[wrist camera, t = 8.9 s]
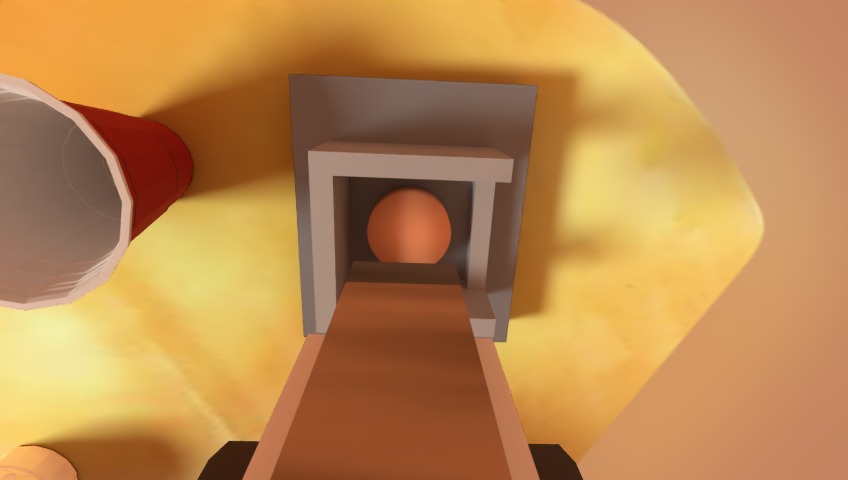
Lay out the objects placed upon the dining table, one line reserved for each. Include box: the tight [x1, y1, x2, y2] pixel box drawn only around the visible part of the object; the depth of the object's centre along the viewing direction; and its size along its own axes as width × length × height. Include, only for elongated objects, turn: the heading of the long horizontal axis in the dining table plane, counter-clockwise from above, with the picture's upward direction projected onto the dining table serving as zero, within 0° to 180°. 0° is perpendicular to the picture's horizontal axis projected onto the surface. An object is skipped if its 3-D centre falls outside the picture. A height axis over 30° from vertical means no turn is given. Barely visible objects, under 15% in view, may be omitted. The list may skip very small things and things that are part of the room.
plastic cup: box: [0, 73, 193, 310], centre depth 23 cm, size 11×11×12 cm
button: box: [367, 186, 451, 264], centre depth 27 cm, size 5×5×2 cm
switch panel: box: [289, 74, 538, 342], centre depth 27 cm, size 18×15×8 cm
